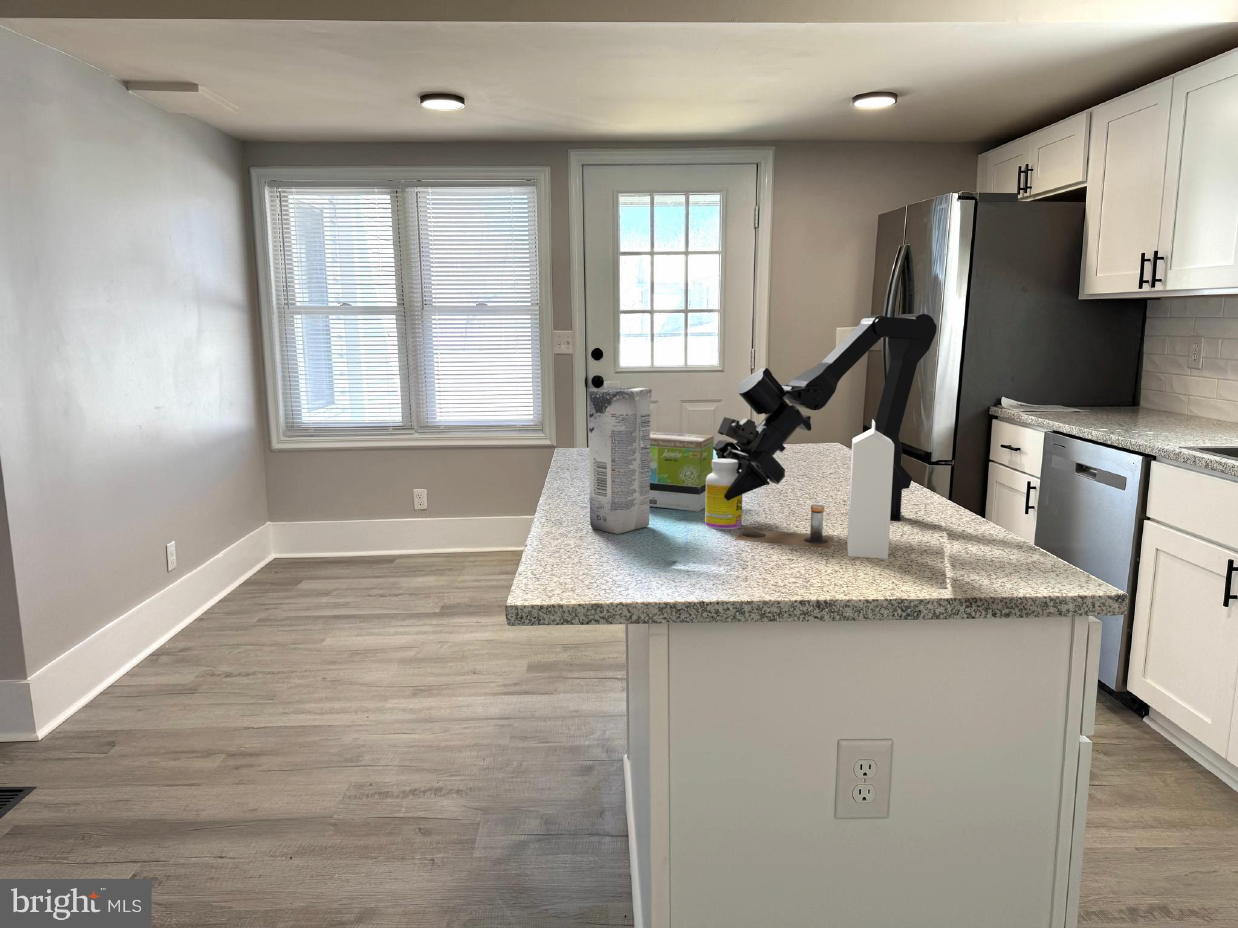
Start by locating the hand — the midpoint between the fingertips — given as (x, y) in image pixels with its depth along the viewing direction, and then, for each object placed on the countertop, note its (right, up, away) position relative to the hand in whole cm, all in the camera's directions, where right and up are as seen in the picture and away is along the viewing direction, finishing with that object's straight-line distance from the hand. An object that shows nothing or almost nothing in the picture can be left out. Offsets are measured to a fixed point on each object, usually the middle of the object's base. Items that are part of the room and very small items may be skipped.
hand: (717, 494), depth 145 cm
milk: (+22, -10, -17) cm, 29 cm away
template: (+11, -8, -8) cm, 15 cm away
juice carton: (-18, -6, +3) cm, 19 cm away
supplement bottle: (+1, -7, +2) cm, 7 cm away
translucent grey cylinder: (+15, -7, -10) cm, 20 cm away
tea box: (-7, -3, +23) cm, 24 cm away
